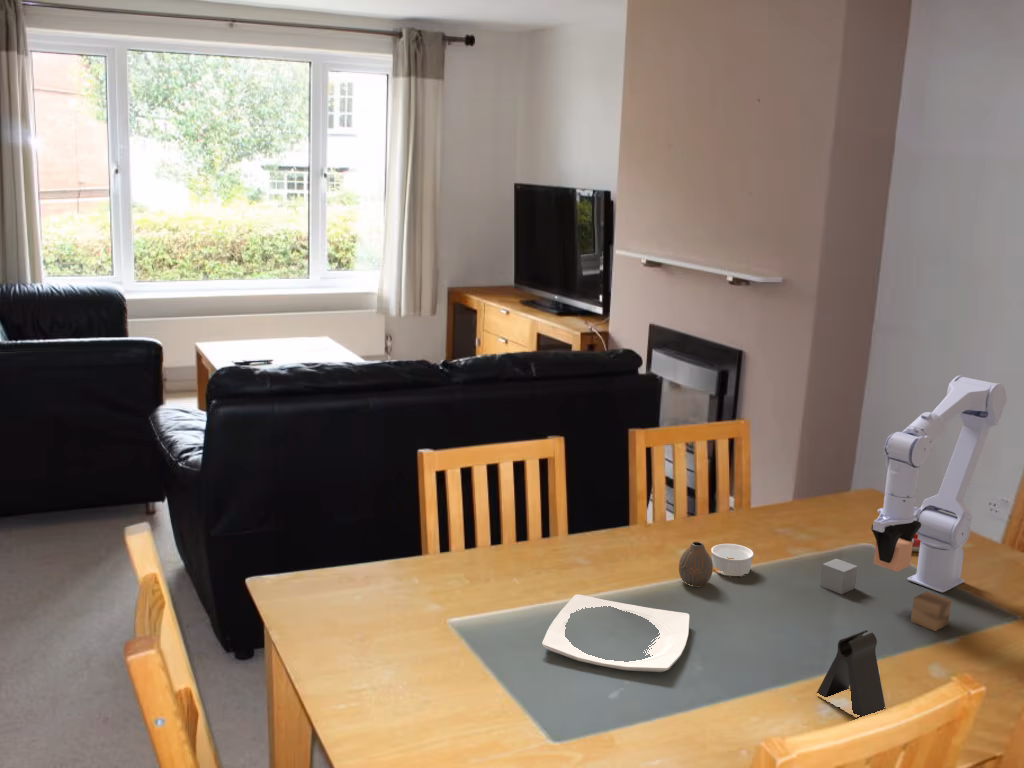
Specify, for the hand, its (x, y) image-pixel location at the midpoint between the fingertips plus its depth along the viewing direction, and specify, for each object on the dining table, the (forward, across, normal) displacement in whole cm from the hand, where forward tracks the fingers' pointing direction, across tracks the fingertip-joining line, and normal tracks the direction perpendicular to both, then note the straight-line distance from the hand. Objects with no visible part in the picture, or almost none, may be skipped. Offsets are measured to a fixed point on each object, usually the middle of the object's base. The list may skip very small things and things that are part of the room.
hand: (892, 557), depth 197 cm
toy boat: (+10, -32, -12) cm, 36 cm away
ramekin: (+10, +13, -29) cm, 33 cm away
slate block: (+10, +2, -10) cm, 14 cm away
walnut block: (+10, +2, +10) cm, 14 cm away
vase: (+10, +25, -29) cm, 39 cm away
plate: (+10, +56, -21) cm, 61 cm away
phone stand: (+10, +41, +17) cm, 45 cm away
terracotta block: (+2, 0, 0) cm, 2 cm away
